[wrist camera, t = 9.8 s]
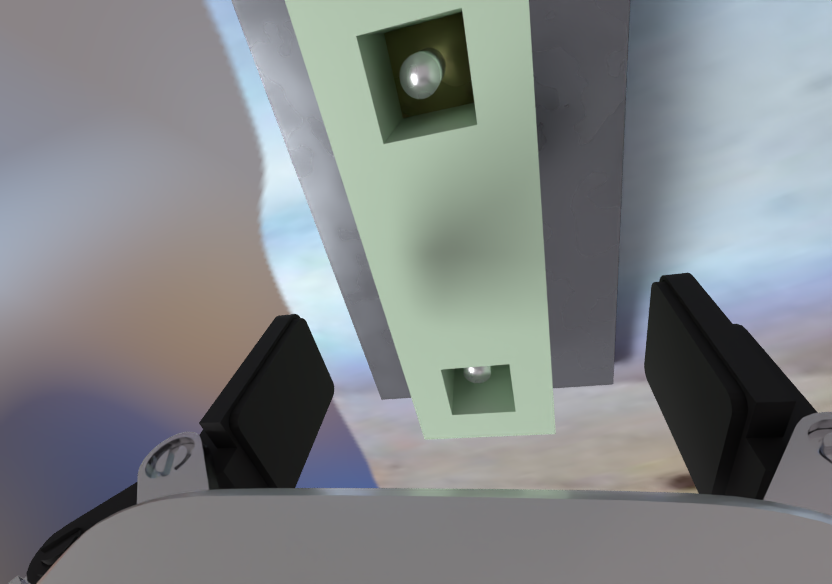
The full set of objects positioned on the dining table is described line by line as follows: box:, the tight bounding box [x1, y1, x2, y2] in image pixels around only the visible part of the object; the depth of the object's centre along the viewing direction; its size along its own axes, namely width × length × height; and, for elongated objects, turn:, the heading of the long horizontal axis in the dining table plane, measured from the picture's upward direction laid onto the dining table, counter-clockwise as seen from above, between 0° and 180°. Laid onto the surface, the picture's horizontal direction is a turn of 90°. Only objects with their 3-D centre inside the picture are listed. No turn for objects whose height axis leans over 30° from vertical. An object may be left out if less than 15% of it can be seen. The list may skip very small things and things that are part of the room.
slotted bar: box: [285, 0, 556, 439], centre depth 16 cm, size 6×18×4 cm, turn 13°
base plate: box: [232, 0, 630, 400], centre depth 18 cm, size 14×24×6 cm, turn 13°
